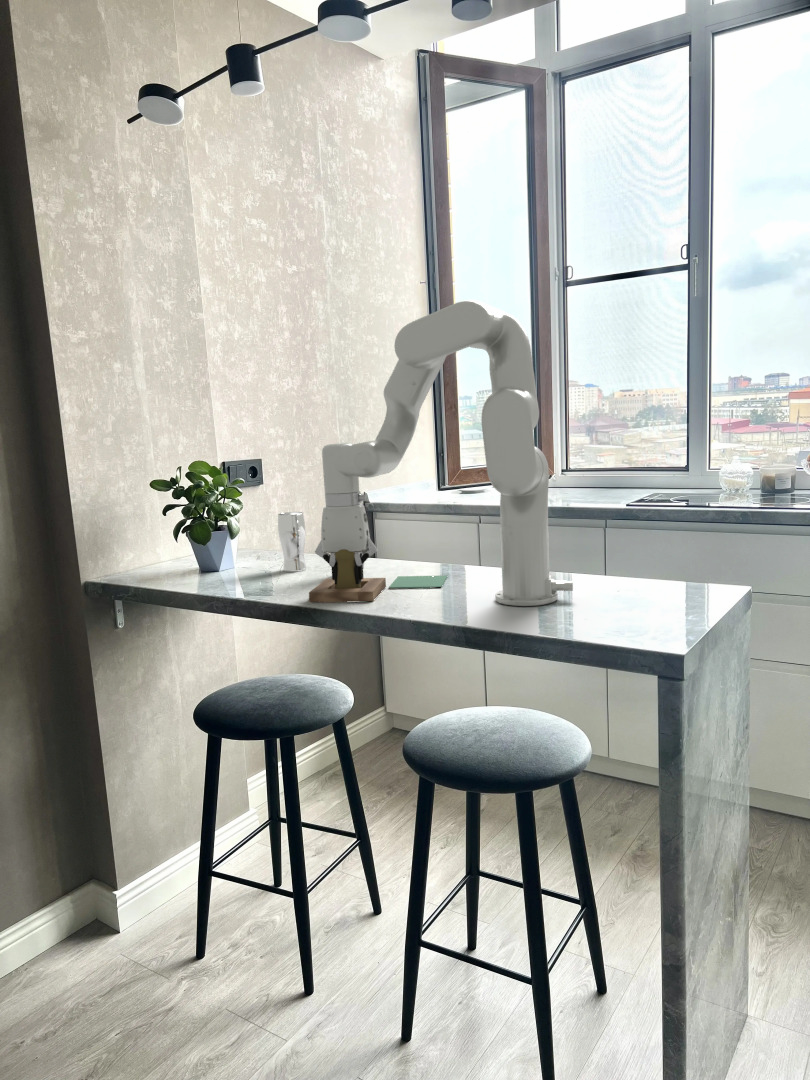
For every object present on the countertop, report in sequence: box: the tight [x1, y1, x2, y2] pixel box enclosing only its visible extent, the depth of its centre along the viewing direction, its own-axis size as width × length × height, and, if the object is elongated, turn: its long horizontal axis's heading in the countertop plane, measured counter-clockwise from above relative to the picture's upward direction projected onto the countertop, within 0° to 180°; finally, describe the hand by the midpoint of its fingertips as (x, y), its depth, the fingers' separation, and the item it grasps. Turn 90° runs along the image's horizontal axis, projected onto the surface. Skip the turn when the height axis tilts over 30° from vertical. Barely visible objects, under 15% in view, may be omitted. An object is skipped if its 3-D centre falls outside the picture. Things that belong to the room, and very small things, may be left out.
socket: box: [308, 577, 387, 603], centre depth 174 cm, size 14×14×2 cm
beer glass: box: [277, 511, 307, 573], centre depth 206 cm, size 7×7×15 cm
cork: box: [335, 549, 361, 589], centre depth 174 cm, size 6×6×11 cm
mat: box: [388, 574, 448, 589], centre depth 183 cm, size 12×12×1 cm
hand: (348, 582), depth 174 cm, fingers closed on cork, 4 cm apart
